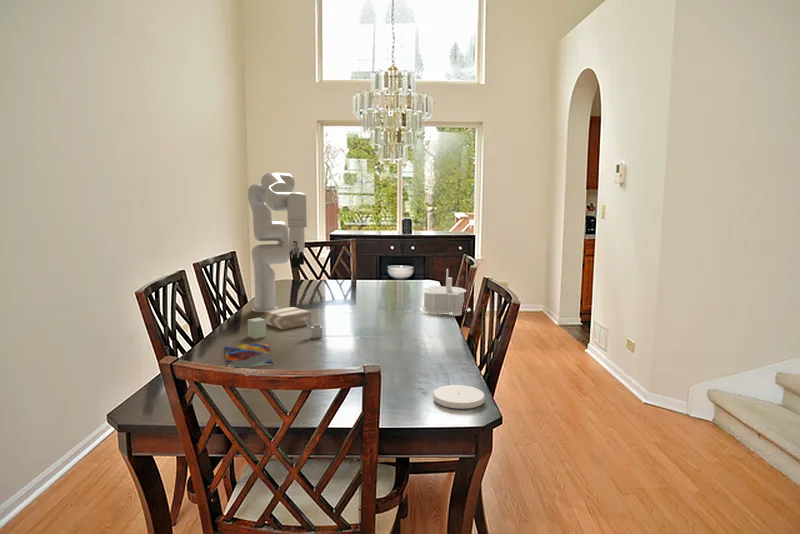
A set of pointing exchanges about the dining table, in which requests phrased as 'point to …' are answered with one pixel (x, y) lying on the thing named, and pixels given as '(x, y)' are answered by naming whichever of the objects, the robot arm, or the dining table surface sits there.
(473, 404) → the plastic lid
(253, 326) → the sage block
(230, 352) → the relief map
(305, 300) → the dining table surface
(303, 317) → the birch block
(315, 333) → the lighter
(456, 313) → the birthday cake
